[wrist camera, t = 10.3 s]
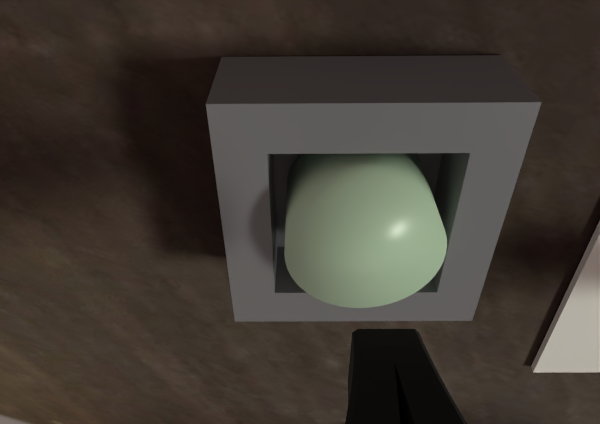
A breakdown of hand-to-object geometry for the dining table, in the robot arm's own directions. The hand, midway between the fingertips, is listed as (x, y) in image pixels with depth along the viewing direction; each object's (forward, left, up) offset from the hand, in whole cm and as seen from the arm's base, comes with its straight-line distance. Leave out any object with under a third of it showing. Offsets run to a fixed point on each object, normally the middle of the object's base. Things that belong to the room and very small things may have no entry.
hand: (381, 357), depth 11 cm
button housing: (0, 0, -7) cm, 7 cm away
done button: (0, 0, -6) cm, 6 cm away
